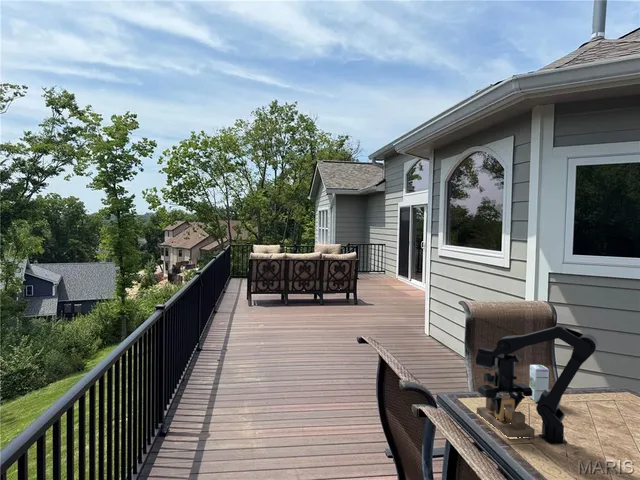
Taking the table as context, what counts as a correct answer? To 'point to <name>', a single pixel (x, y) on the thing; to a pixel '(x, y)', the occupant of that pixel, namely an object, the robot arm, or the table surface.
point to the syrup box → (538, 380)
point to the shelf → (517, 423)
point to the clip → (508, 402)
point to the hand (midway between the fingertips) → (504, 413)
